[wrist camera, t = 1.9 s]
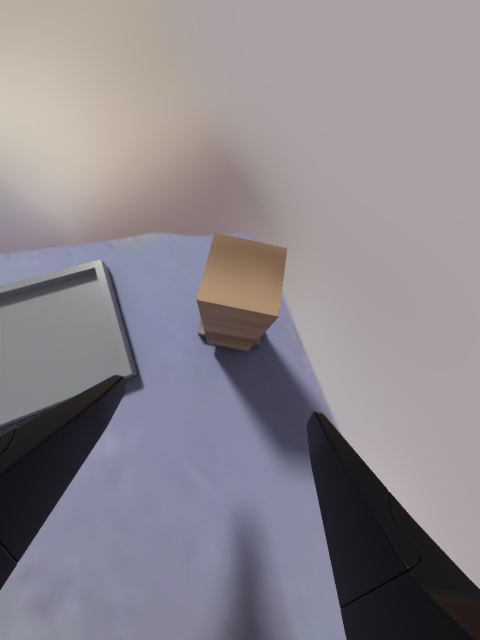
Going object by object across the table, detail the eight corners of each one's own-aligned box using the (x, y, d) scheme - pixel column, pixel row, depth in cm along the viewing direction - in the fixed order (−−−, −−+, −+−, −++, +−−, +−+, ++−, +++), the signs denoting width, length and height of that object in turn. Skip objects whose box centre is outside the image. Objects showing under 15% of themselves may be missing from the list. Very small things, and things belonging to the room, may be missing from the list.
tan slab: (257, 355, 23) (302, 321, 11) (196, 343, 23) (172, 294, 11) (262, 319, 25) (307, 253, 12) (205, 307, 24) (192, 227, 12)
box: (137, 374, 21) (131, 373, 20) (-17, 434, 18) (-37, 438, 17) (107, 266, 25) (100, 259, 23) (-27, 303, 22) (-45, 297, 20)
